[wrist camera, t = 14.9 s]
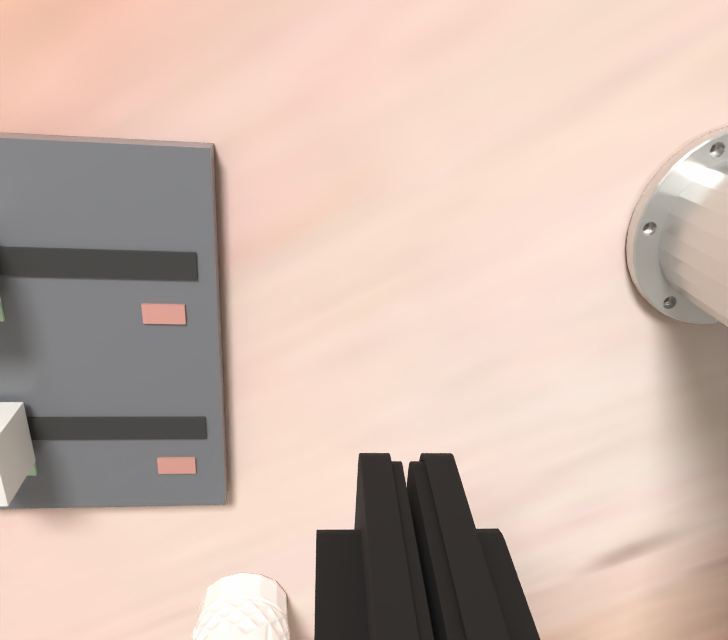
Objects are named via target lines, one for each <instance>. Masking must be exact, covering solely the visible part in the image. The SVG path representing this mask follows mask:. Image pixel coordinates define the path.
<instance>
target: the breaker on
mask: <svg viewBox="0 0 728 640" xmlns="http://www.w3.org/2000/svg"><path fill="white" fill-rule="evenodd" d="M35 462H36V460H35V455H34V450H33V445H32V441H31V436H30V431H29V426H28V422H27V417H26V412H25V407H24V403H23V402H0V506H9V504H10V502H11V501H12V499H13V498H14V496H15V494H16V493H17V491H18V489H19V488H20V486H21V484H22V483H23V481H24V480H25V478H26V476H27V475H28V473H29V471H30V470H31V468H32V466H33V465H34V463H35Z"/></svg>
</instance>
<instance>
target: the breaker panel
mask: <svg viewBox="0 0 728 640" xmlns="http://www.w3.org/2000/svg"><path fill="white" fill-rule="evenodd" d="M0 298H1V302H0V402H23V403H24V407H25V412H26V417H27V422H28V426H29V431H30V436H31V441H32V445H33V450H34V455H35V460H36V462H35V463H34V465H33V466H32V468H31V470H30V471H29V473H28V475H27V476H26V478H25V480H24V481H23V483H22V484H21V486H20V488H19V489H18V491H17V493H16V494H15V496H14V498H13V499H12V501H11V502H10V504H9V506H0V509H14V508H68V507H121V506H175V505H225V504H226V497H227V491H228V486H227V461H226V436H225V411H224V386H223V361H222V336H221V311H220V286H219V261H218V237H217V212H216V187H215V162H214V143H196V142H176V141H156V140H137V139H117V138H97V137H77V136H58V135H38V134H18V133H0Z"/></svg>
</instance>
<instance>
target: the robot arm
mask: <svg viewBox="0 0 728 640" xmlns="http://www.w3.org/2000/svg"><path fill="white" fill-rule="evenodd" d="M644 225H645V226H644ZM626 252H627V265H628V268H629V272H630V275H631V278H632V281H633V283H634V284H635V286H636V288H637V290H638V291H639V293H640V294H641V295H642V296H643V297H644V298H645V299H646V300H647V301H648V302H649V303H650V304H651V305H652V306H653V307H654V308H656V309H657V310H658V311H660V312H661V313H663V314H665V315H667V316H669V317H671V318H673V319H675V320H678V321H682V322H687V323H691V324H715V323H722V324H723V325H725V326H726V327H728V126H726V127H724V128H721V129H718V130H715V131H712V132H709V133H708V134H706V135H704V136H702V137H700V138H698V139H697V140H695V141H693V142H691V143H690V144H688V145H687V146H686V147H684V148H683V149H682V150H680V151H679V152H678V153H676V154H675V155H674V156H673V157H672V158H671V159H670V160H669V161H668V162H667V163H666V164H665V165H664V166H663V167H662V168H661V169H660V170H659V171H658V172H657V173H656V175H655V176H654V177H653V179H652V180H651V182H650V183H649V184H648V186H647V187H646V189H645V190H644V192H643V194H642V196H641V198H640V200H639V202H638V204H637V206H636V208H635V210H634V213H633V216H632V219H631V222H630V226H629V229H628V237H627V245H626ZM315 640H540V638H539V635H538V632H537V629H536V626H535V624H534V621H533V618H532V615H531V612H530V610H529V607H528V604H527V601H526V598H525V595H524V593H523V590H522V587H521V584H520V581H519V579H518V576H517V573H516V570H515V567H514V565H513V562H512V559H511V556H510V553H509V551H508V548H507V545H506V542H505V539H504V537H503V535H502V533H501V532H500V531H499V529H476V528H475V524H474V521H473V518H472V514H471V511H470V508H469V505H468V501H467V498H466V495H465V492H464V488H463V485H462V482H461V479H460V475H459V472H458V469H457V465H456V462H455V459H454V456H453V455H452V454H451V453H422V454H421V456H420V460H419V461H411V462H410V463H409V469H408V478H407V488H406V482H405V477H404V471H403V466H402V462H401V461H391V457H390V454H389V453H360V454H359V460H358V477H357V494H356V512H355V529H354V530H317V534H316V583H315Z"/></svg>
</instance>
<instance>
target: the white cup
mask: <svg viewBox="0 0 728 640" xmlns="http://www.w3.org/2000/svg"><path fill="white" fill-rule="evenodd" d="M191 640H290V630H289V627H288V618H287V599H286V593H285V592H284V590H283V589H282V588H281V587H280V586H279V584H278V583H277V582H276V581H274V580H272V579H269V578H267V577H265V576H263V575H261V574H251V573H238V574H234V575H230V576H226V577H222V578H221V579H219V580H218V581H216V582H215V583H214V584H212V585H211V586H209V587H208V588H207V590H206V592H205V594H204V596H203V598H202V600H201V604H200V608H199V613H198V617H197V622H196V624H195V627H194V630H193V634H192V638H191Z"/></svg>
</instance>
